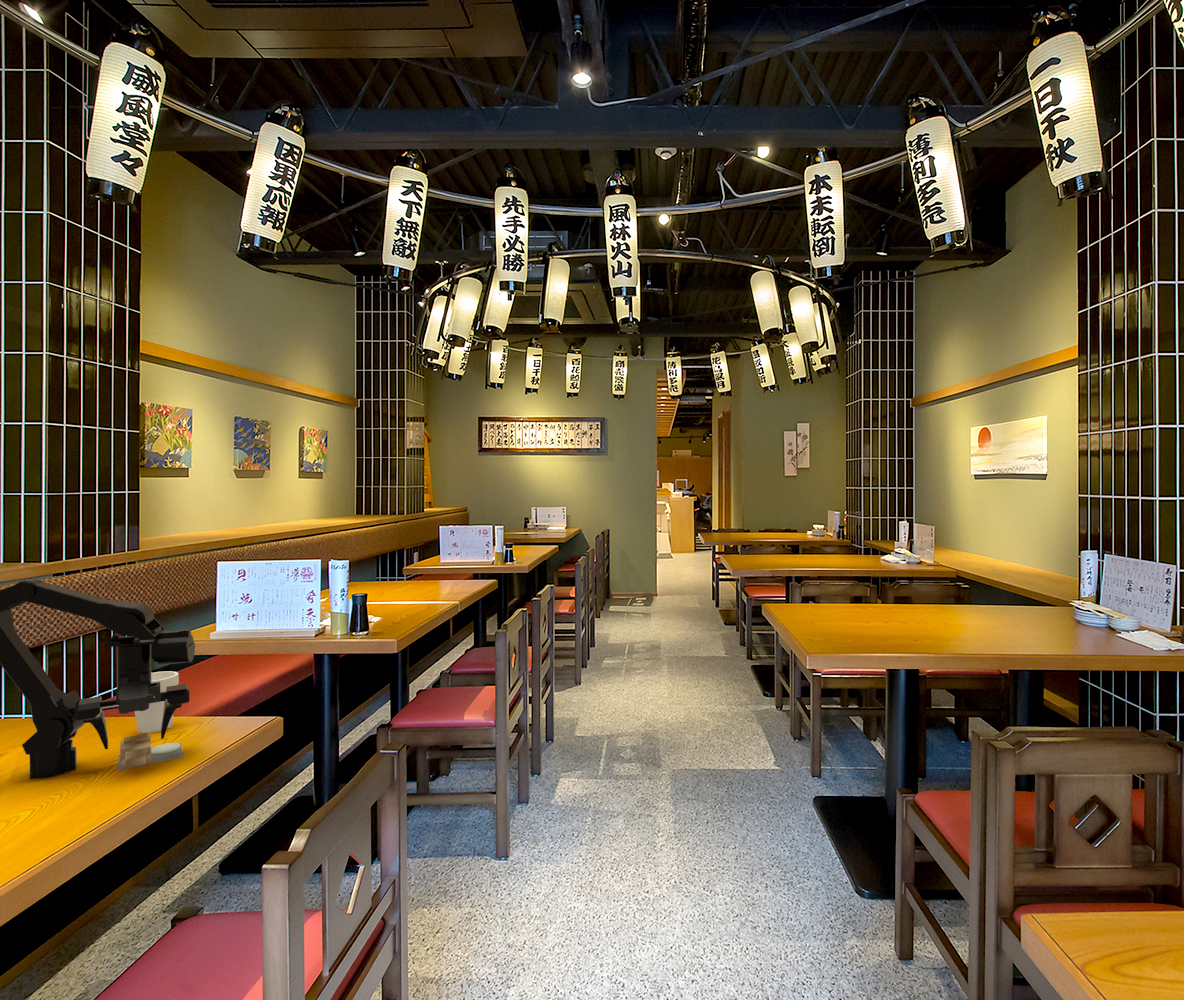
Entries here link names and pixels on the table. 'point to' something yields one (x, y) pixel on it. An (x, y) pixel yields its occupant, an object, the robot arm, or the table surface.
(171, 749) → the lock board
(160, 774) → the table surface
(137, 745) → the hinoki cap
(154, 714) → the foam cup
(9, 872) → the table surface
